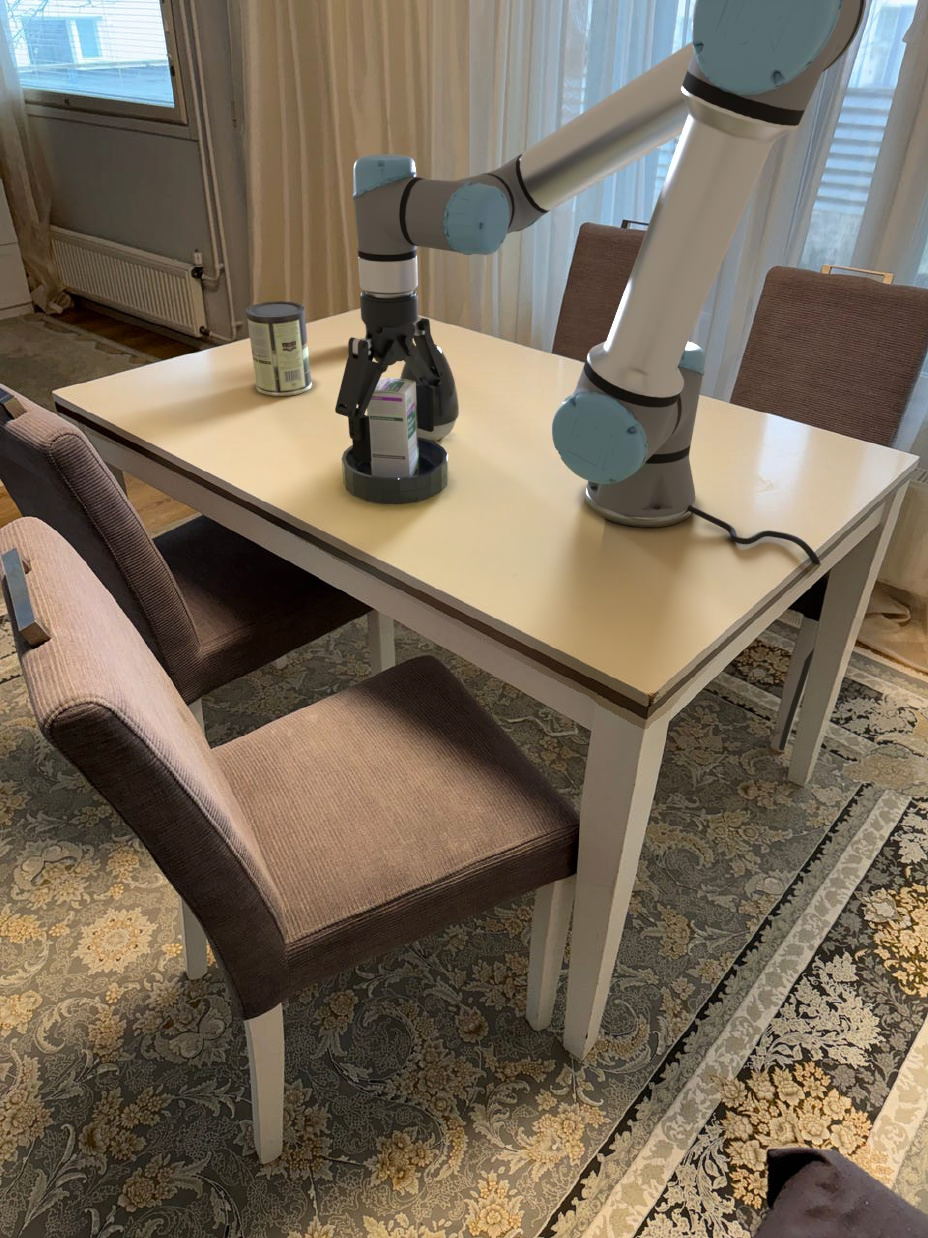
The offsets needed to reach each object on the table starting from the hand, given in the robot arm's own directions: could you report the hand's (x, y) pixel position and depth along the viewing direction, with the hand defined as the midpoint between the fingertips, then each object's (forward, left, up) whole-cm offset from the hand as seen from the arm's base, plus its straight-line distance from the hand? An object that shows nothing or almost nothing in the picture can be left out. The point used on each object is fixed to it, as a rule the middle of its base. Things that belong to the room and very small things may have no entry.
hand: (394, 444), depth 125 cm
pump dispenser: (+8, -17, -7) cm, 20 cm away
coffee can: (+43, -18, -7) cm, 47 cm away
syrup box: (0, 0, -6) cm, 6 cm away
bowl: (0, 0, -6) cm, 6 cm away
